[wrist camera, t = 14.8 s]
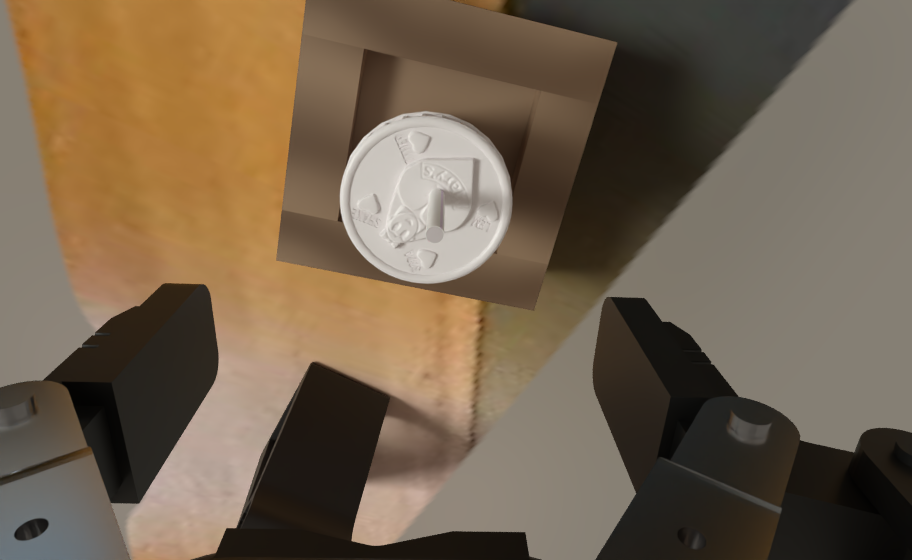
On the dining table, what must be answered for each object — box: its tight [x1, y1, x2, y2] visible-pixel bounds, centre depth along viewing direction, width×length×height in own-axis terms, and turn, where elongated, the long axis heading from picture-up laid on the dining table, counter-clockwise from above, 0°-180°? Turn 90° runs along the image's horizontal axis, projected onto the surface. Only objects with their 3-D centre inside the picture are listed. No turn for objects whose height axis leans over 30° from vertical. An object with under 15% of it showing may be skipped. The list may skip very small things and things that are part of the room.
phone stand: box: [236, 363, 390, 541], centre depth 37 cm, size 9×6×12 cm, turn 150°
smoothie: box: [340, 111, 512, 284], centre depth 24 cm, size 6×6×14 cm
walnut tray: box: [276, 0, 617, 311], centre depth 32 cm, size 14×14×6 cm
